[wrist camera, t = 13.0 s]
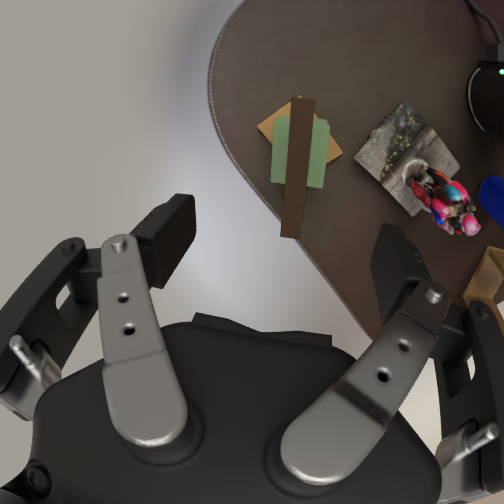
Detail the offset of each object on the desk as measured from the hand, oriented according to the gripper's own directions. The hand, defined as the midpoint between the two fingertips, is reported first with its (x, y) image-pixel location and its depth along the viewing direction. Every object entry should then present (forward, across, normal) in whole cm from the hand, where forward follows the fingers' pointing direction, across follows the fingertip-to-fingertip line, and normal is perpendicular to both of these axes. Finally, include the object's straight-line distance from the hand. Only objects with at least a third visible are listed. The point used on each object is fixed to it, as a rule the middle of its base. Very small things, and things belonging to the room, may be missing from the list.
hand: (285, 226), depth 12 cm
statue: (+22, -13, 0) cm, 25 cm away
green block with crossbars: (+21, 0, +1) cm, 21 cm away
